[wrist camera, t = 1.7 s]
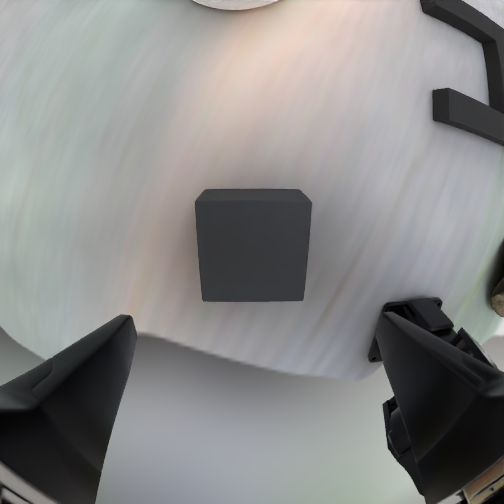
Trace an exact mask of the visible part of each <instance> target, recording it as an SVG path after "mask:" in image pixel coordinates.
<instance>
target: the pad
mask: <svg viewBox="0 0 504 504" xmlns="http://www.w3.org/2000/svg"><path fill="white" fill-rule="evenodd" d="M311 208H312V202H311V200H310V199H309V198H308V197H307V196H306V195H305V194H303V193H302V192H301V191H300V190H299V189H206V190H204V191H203V193H202V194H201V195H200V196H199V198H198V199H197V200H196V201H195V213H196V229H197V244H198V257H199V269H200V280H201V291H202V300H203V301H208V302H270V301H303V299H304V290H305V280H306V270H307V260H308V248H309V236H310V223H311Z"/></svg>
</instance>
